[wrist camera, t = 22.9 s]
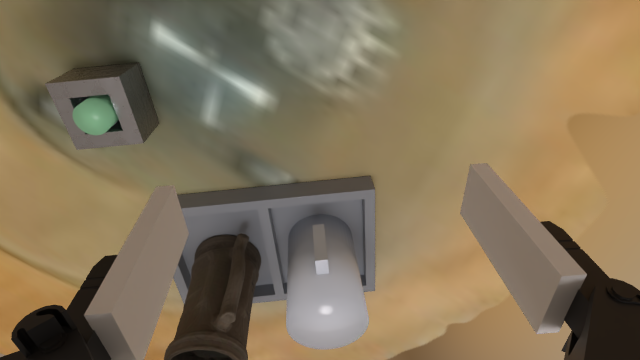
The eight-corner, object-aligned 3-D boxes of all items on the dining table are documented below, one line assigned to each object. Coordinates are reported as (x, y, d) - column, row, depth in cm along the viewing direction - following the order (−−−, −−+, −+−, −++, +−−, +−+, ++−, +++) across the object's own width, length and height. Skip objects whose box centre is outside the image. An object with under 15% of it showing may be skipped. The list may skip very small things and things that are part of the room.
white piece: (292, 266, 63) (291, 353, 49) (282, 205, 56) (278, 286, 42) (352, 259, 63) (369, 344, 49) (350, 198, 56) (368, 277, 42)
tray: (191, 292, 66) (186, 309, 63) (154, 197, 55) (146, 212, 52) (371, 274, 67) (374, 290, 63) (370, 175, 55) (374, 189, 52)
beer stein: (253, 289, 65) (241, 402, 47) (191, 279, 63) (154, 395, 45) (272, 218, 58) (266, 319, 41) (203, 205, 56) (165, 305, 39)
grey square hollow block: (99, 129, 49) (76, 149, 44) (73, 68, 45) (45, 83, 40) (159, 123, 49) (143, 143, 44) (138, 62, 45) (119, 76, 40)
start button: (104, 116, 47) (81, 136, 42) (92, 87, 45) (66, 104, 40) (134, 113, 47) (114, 133, 42) (123, 84, 45) (101, 101, 40)
